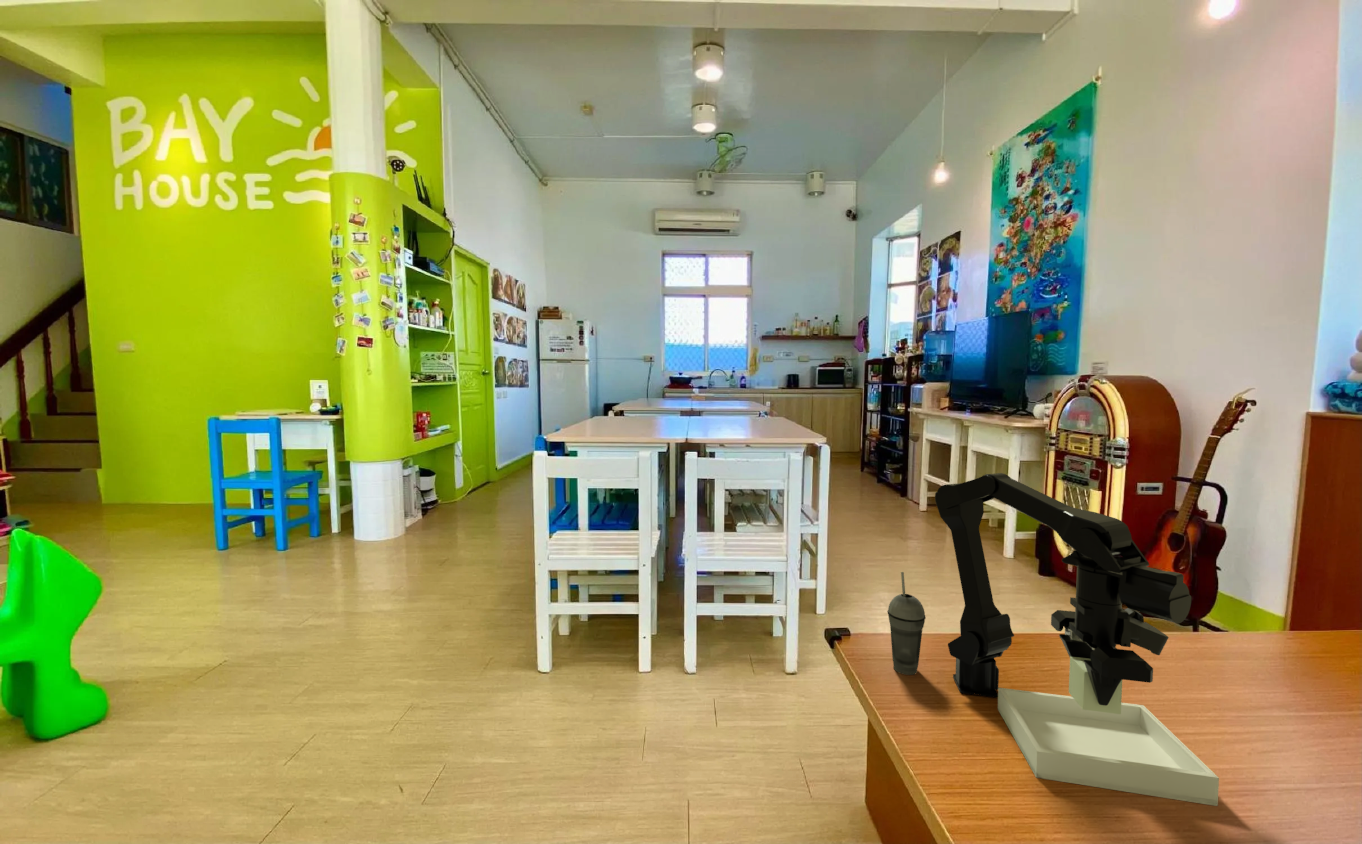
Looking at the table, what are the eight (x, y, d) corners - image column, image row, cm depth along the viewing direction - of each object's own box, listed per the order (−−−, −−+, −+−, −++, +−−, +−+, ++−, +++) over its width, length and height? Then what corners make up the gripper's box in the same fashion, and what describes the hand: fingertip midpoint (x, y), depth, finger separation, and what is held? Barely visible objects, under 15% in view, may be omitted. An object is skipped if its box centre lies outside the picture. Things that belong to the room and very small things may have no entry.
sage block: (1082, 709, 84) (1084, 671, 83) (1068, 692, 88) (1070, 656, 88) (1120, 714, 82) (1122, 676, 82) (1104, 696, 87) (1105, 660, 87)
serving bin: (1036, 777, 80) (1037, 751, 79) (997, 709, 97) (998, 687, 97) (1217, 806, 74) (1219, 778, 74) (1142, 728, 91) (1143, 705, 91)
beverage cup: (907, 682, 106) (909, 582, 105) (878, 665, 113) (880, 571, 112) (932, 673, 110) (934, 576, 109) (902, 657, 116) (904, 566, 115)
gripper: (1201, 629, 73) (1195, 740, 74) (1126, 583, 91) (1122, 672, 92) (1105, 620, 76) (1101, 727, 77) (1051, 577, 94) (1048, 664, 95)
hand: (1094, 695), depth 85 cm, fingers closed on sage block, 5 cm apart
